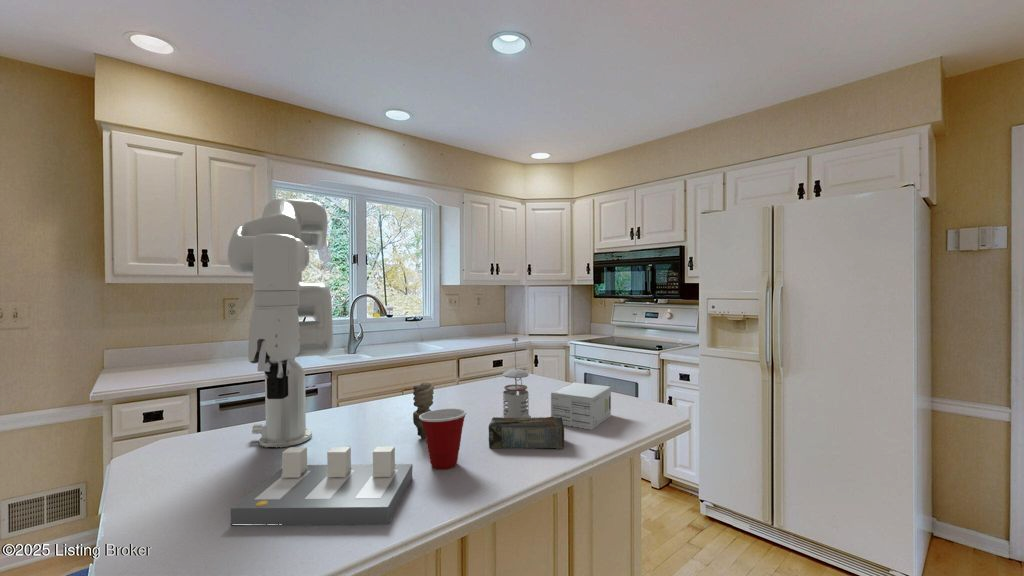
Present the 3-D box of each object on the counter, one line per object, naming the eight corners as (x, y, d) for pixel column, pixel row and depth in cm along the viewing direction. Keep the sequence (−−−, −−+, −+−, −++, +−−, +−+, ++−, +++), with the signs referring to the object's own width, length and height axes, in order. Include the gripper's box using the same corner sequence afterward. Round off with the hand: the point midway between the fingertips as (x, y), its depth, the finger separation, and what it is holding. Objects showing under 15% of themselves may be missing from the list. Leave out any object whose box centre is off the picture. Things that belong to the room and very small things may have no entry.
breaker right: (372, 476, 86) (372, 452, 86) (377, 469, 89) (377, 445, 89) (390, 476, 86) (390, 452, 86) (395, 469, 89) (395, 445, 89)
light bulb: (436, 435, 119) (436, 380, 119) (431, 442, 113) (430, 385, 113) (416, 434, 119) (416, 380, 119) (410, 442, 114) (409, 385, 114)
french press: (497, 422, 129) (496, 339, 129) (504, 411, 141) (503, 334, 141) (529, 424, 128) (529, 339, 128) (534, 412, 139) (533, 334, 139)
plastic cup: (448, 451, 107) (448, 403, 107) (476, 464, 99) (476, 411, 99) (410, 464, 99) (409, 412, 99) (437, 479, 92) (436, 422, 92)
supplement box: (592, 431, 122) (592, 397, 122) (550, 423, 128) (550, 392, 128) (611, 415, 136) (611, 385, 136) (573, 409, 143) (572, 381, 143)
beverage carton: (492, 438, 117) (491, 413, 117) (563, 439, 115) (563, 414, 115) (488, 449, 109) (487, 423, 109) (565, 450, 107) (564, 424, 107)
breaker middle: (326, 477, 86) (326, 452, 86) (334, 469, 89) (334, 446, 89) (344, 477, 86) (344, 452, 86) (351, 469, 89) (351, 446, 89)
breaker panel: (230, 525, 74) (230, 507, 74) (285, 479, 92) (285, 464, 92) (387, 524, 74) (387, 506, 74) (412, 478, 92) (412, 463, 92)
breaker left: (281, 477, 86) (281, 453, 86) (290, 469, 89) (290, 446, 89) (299, 477, 86) (299, 453, 86) (308, 469, 89) (307, 446, 89)
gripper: (278, 298, 89) (279, 388, 89) (230, 302, 74) (232, 409, 74) (314, 298, 89) (315, 388, 89) (274, 302, 74) (276, 409, 74)
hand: (277, 397), depth 82 cm, fingers closed
